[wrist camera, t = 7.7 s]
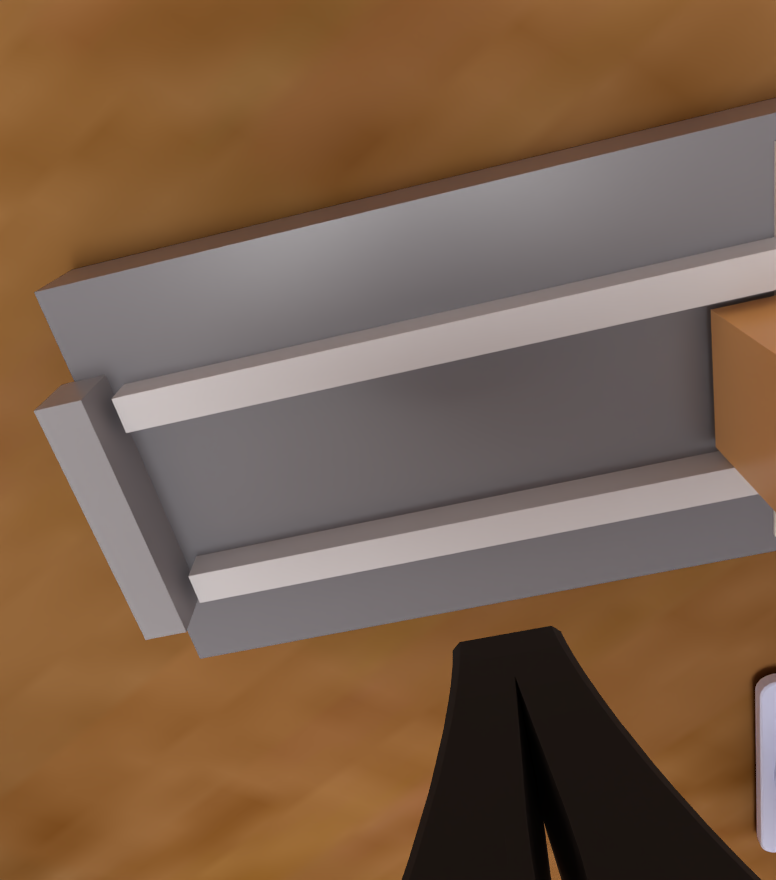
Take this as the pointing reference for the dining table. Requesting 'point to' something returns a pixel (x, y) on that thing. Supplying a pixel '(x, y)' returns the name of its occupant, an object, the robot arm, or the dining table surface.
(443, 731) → the robot arm
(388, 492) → the grey flat railed block
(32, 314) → the dining table surface
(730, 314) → the fader tab
